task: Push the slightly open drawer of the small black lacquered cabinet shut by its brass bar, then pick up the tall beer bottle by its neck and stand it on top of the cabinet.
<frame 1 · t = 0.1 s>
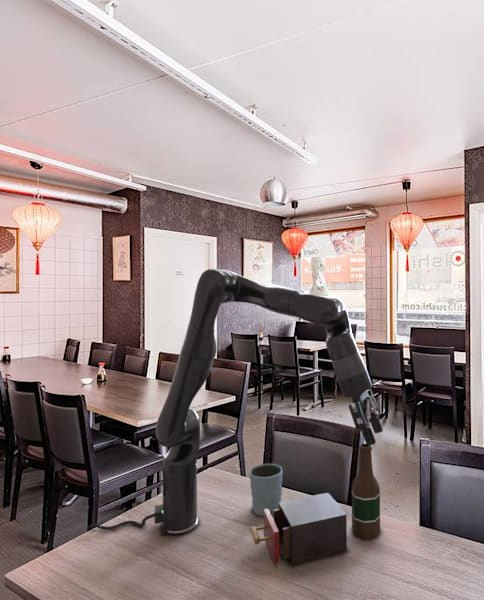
hand: (375, 438, 99), 31 cm above the table, tool tilted 20°, fingers open, 8 cm apart
cabinet: (311, 544, 109), on the table
drinking glass: (266, 509, 127), on the table
drawer: (286, 531, 106), point 5 cm above the table, slide at 3.0 cm
beer bottle: (366, 531, 114), on the table
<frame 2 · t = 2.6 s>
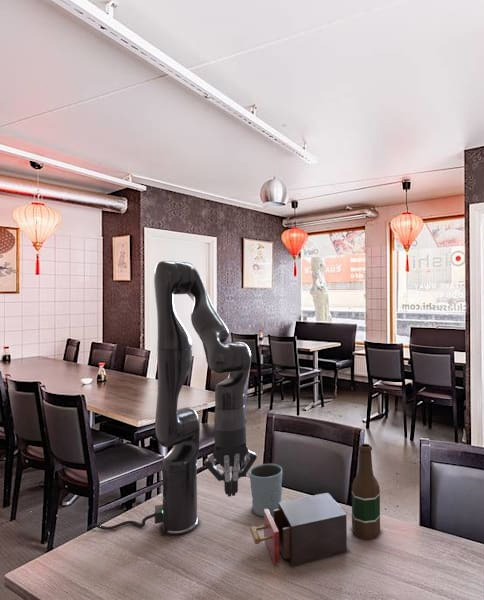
hand: (231, 494, 101), 17 cm above the table, tool pointing down, fingers closed
nothing on the table moved.
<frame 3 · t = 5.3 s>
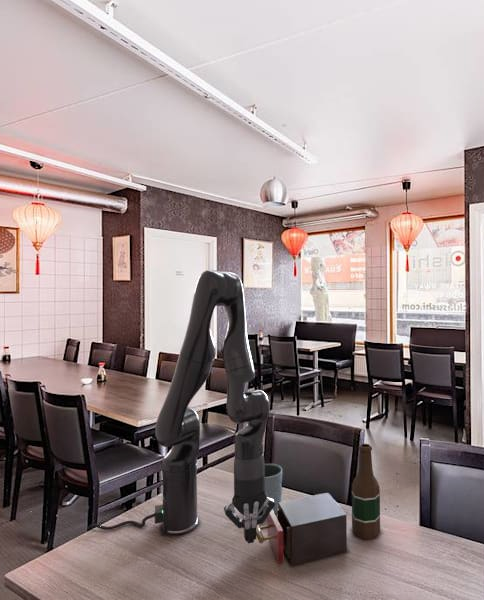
hand: (250, 541, 103), 5 cm above the table, tool pointing down, fingers closed
drawer: (290, 530, 107), point 5 cm above the table, slide at 2.0 cm, touching gripper
everything else where it was.
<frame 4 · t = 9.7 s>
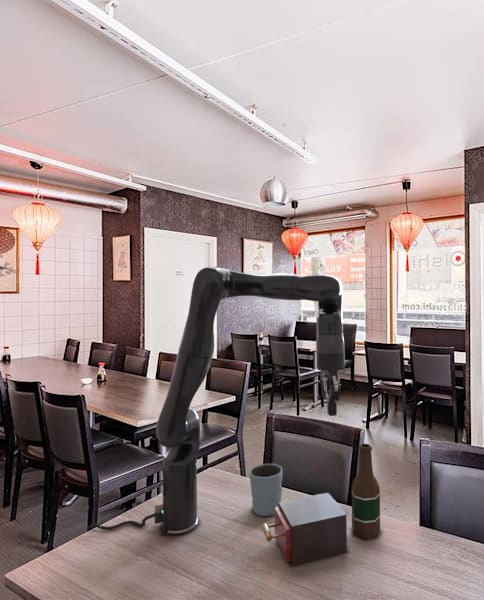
hand: (332, 415, 110), 34 cm above the table, tool pointing down, fingers closed
drawer: (297, 529, 107), point 5 cm above the table, slide at 0.0 cm
everything else where it was.
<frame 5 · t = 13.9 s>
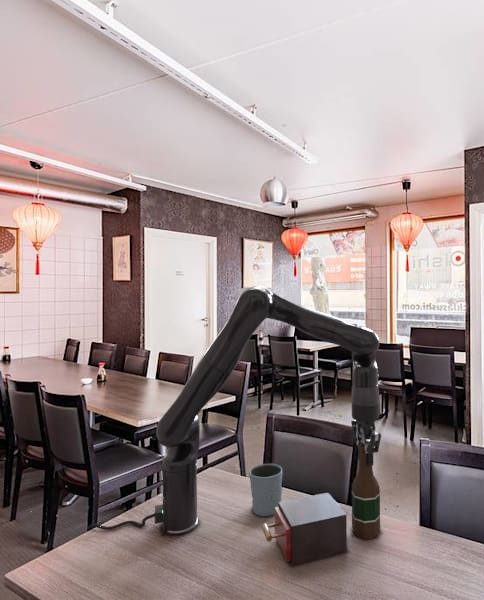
hand: (365, 462, 114), 19 cm above the table, tool pointing down, fingers closed on beer bottle, 3 cm apart
beer bottle: (366, 531, 114), on the table, touching gripper
everything else where it was.
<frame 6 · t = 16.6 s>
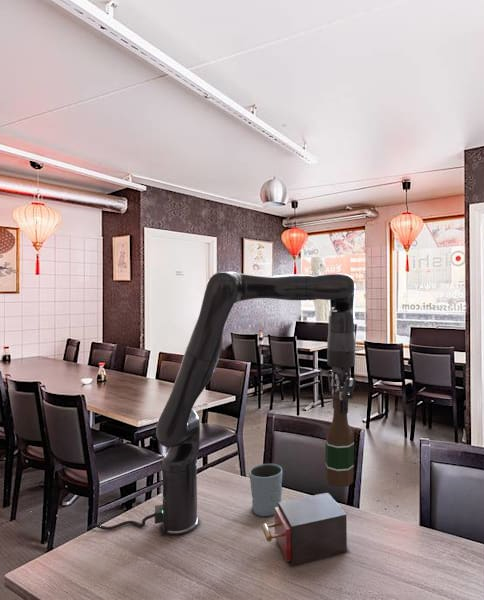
hand: (340, 411, 112), 34 cm above the table, tool pointing down, fingers closed on beer bottle, 3 cm apart
beer bottle: (339, 481, 112), point 15 cm above the table, touching gripper
everything else where it was.
when the fingers open (29 cm above the table, at t = 19.6 s): beer bottle stays where it is, resting on cabinet.
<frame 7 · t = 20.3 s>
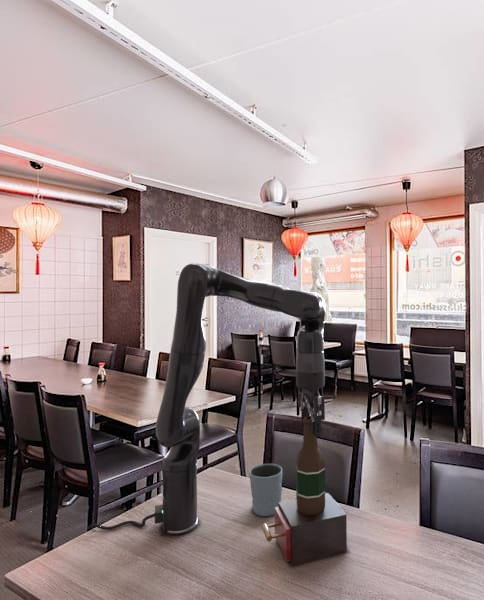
hand: (310, 430, 108), 30 cm above the table, tool pointing down, fingers open, 8 cm apart
beer bottle: (310, 508, 109), point 9 cm above the table, touching cabinet
everything else where it was.
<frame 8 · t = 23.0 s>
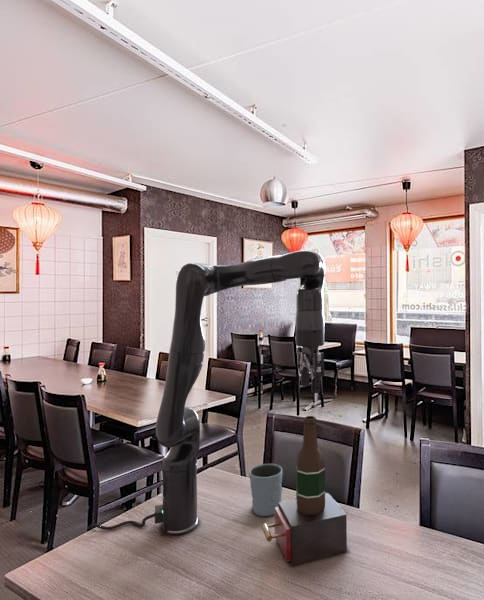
hand: (310, 389, 108), 41 cm above the table, tool pointing down, fingers open, 8 cm apart
nothing on the table moved.
at the end: drawer slide at 0.0 cm; beer bottle inside the target area on the cabinet (0.1 cm from its centre), point 9.4 cm above the cabinet's base; beer bottle tilted 0° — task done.
